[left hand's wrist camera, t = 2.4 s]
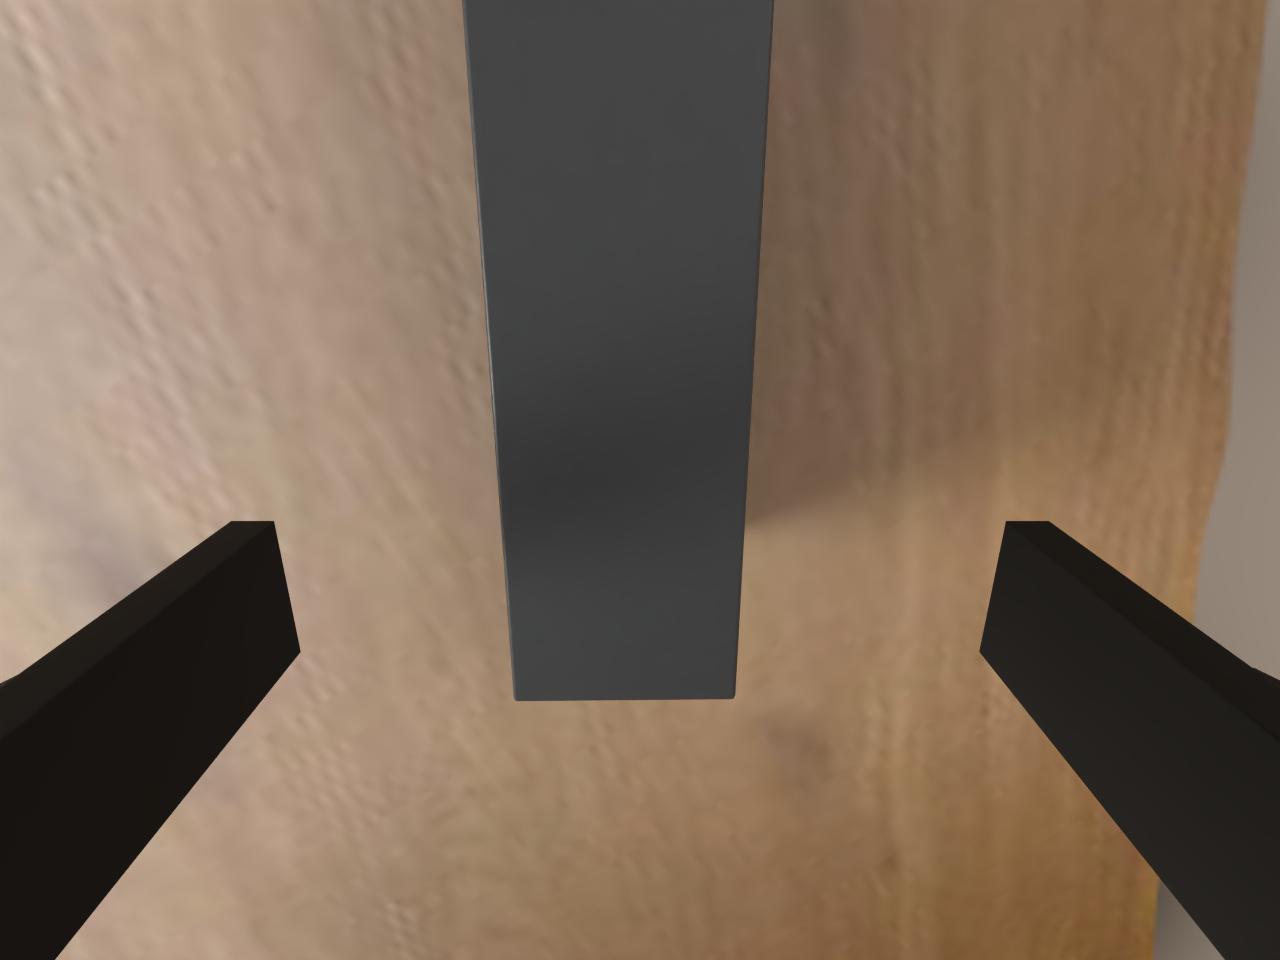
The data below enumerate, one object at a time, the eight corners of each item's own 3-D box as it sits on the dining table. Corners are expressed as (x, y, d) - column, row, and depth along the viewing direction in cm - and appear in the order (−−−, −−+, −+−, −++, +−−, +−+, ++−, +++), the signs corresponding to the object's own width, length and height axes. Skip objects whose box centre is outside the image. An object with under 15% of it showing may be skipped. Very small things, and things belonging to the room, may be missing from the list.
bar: (699, 542, 23) (735, 700, 15) (553, 542, 23) (513, 703, 15) (726, -313, 16) (824, -863, 8) (513, -315, 16) (396, -872, 8)
